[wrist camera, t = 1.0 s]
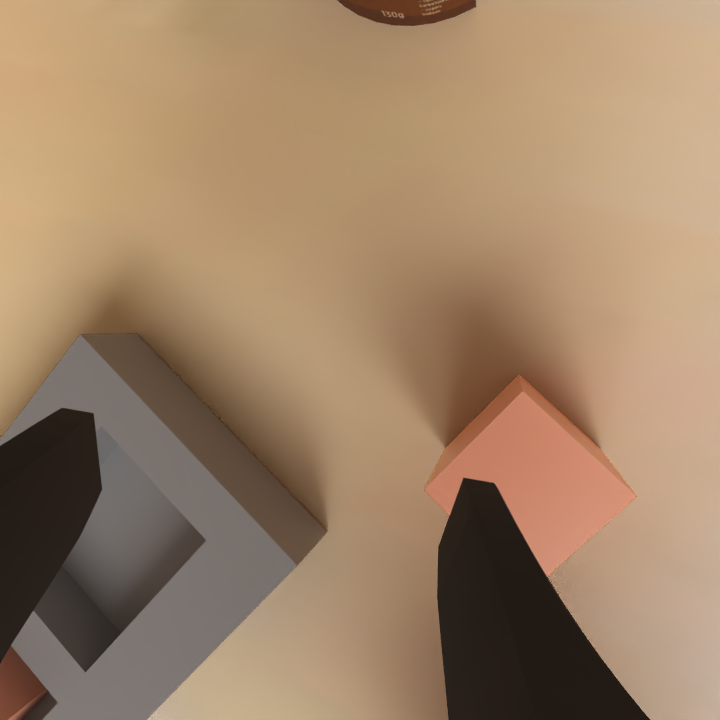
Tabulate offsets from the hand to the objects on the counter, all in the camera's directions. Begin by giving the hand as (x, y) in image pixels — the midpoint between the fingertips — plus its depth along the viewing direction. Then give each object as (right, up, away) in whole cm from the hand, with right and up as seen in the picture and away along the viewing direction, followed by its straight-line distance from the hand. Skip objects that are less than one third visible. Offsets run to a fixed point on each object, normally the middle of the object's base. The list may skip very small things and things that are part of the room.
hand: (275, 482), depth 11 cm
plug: (+8, -1, +10) cm, 13 cm away
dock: (-11, -8, +16) cm, 21 cm away
